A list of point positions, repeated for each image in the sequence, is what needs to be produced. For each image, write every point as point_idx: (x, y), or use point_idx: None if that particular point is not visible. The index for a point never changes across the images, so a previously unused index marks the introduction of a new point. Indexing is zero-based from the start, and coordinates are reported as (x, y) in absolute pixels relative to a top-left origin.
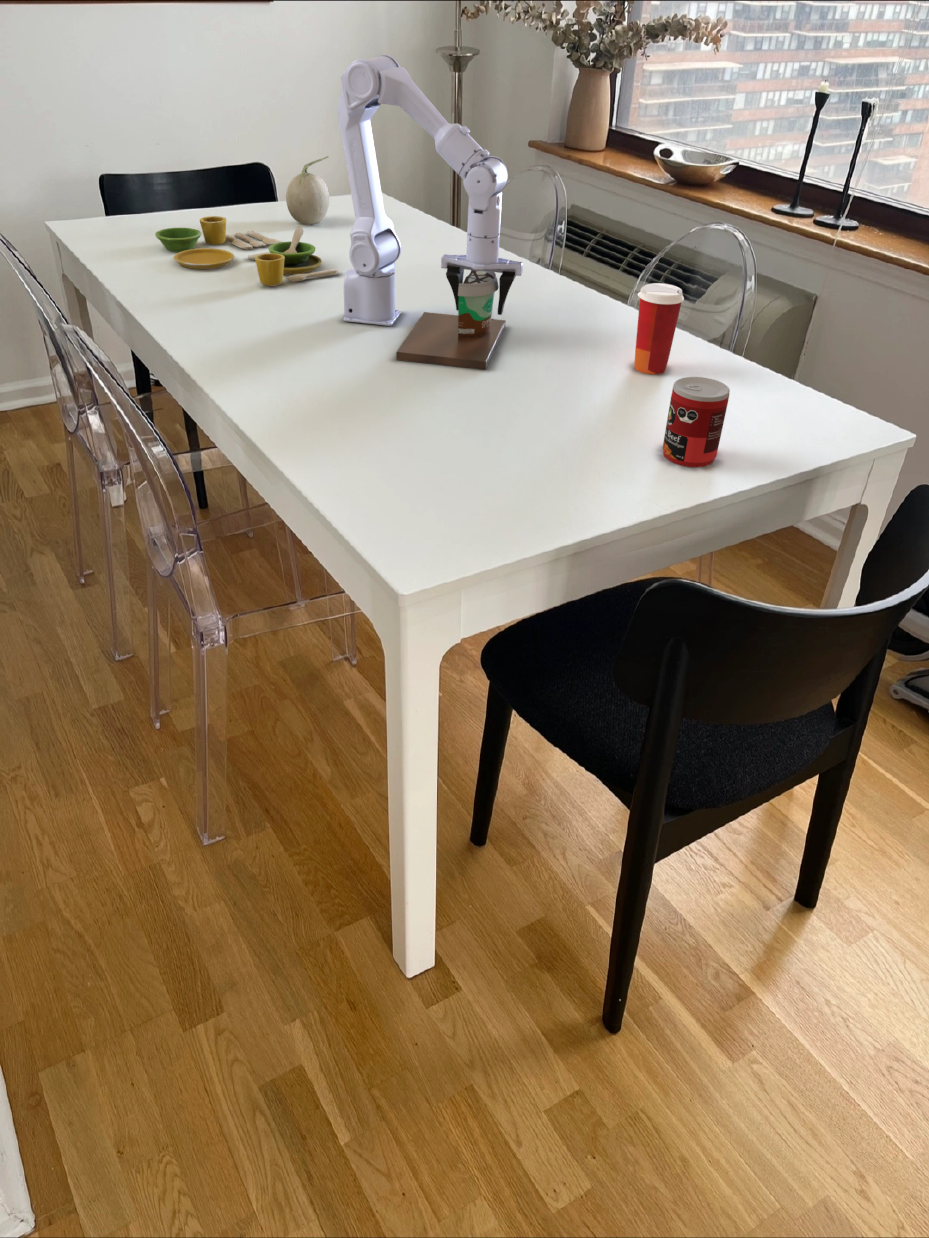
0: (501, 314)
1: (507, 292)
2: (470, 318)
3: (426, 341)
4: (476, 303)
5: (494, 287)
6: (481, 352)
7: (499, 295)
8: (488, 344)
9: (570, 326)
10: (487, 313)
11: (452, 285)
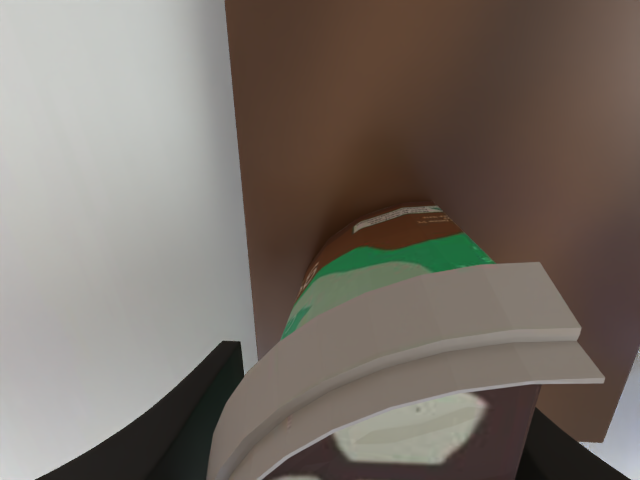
0: (219, 345)
1: (110, 438)
2: (380, 243)
3: (607, 86)
4: (346, 299)
5: (207, 472)
6: (273, 6)
7: (187, 419)
8: (265, 144)
9: (76, 455)
10: (288, 321)
11: (602, 474)
